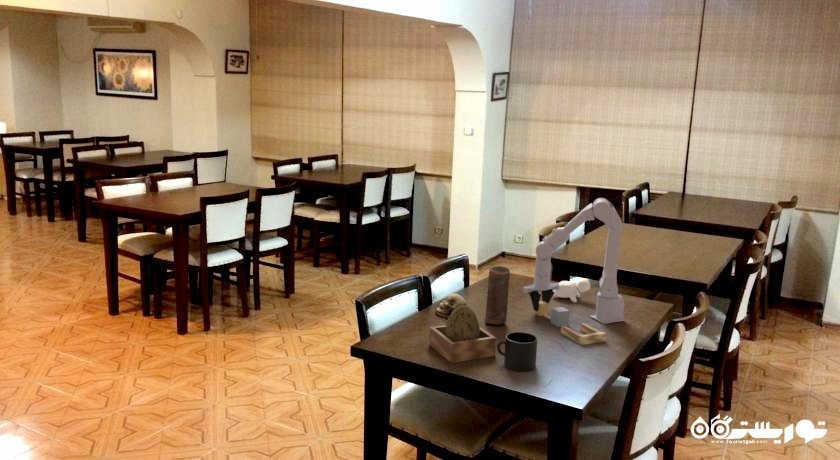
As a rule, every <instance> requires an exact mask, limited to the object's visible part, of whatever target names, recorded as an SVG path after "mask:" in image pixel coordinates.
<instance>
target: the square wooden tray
mask: <svg viewBox="0 0 840 460" xmlns="http://www.w3.org/2000/svg"><path fill="white" fill-rule="evenodd" d="M479 327H480V334H479V338H478V339H472V340H465V341H458V342H452V341H451V340H450V339H449V338H447V337H446V335H445V328H446V324H445V325H437V326H430V327H429V342H428V343H429V344H428V345H429V346H430V347H431V348H432V349H433V350H435V351H436V352H437V353H438V354H439V355H441V356H442V357H443V358H444V357H445V358H444V359H446V360H447V361H448V362H450V364H452V363H458V362H464V361H470V360H476V359H477V360H478V359H485V358H491V357H495V356H496V349H497V346H496V345H497V344H496V343H497V337H496V336H494V335H493V334H491V333H490V332H488V331H487V330H485V328H482V326H479Z"/></svg>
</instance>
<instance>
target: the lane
mask: <svg viewBox="0 0 840 460" xmlns="http://www.w3.org/2000/svg"><path fill="white" fill-rule="evenodd" d="M579 331H580V332H582V333H584V334H581V333H579V332H577V331H575V330H573V329H572V328H570V327H569V326H561V327H560V334H562V335H564V336H565V337H567V338H569V339H570V340H571V341H574V342H576V344H580V345H581V346H584V345H589V344H596V343H597V344H598V343H603V342H606V340H607V339H606V337H607V333H606V332H604V331H600V330H598V329H596V328H594V327H593V326H591V325H589V324H586V323H580V326H579Z"/></svg>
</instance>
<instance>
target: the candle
mask: <svg viewBox="0 0 840 460" xmlns="http://www.w3.org/2000/svg"><path fill="white" fill-rule="evenodd" d="M488 271H489V272H488V281H487V282H488V284H487V297H486V304H485V305H486V307H485V316H484V317H485V319H484V321H485V322H486V324H491V325H495V326H501V325H503V324H504V323H506V322H507V314H508V304H509V303H508V301H509V300H508V299H509V288H510V287H509V286H510V275H511V271H510V269H509V268H508V267H506V266H501V265H498V266H497V265H496V266H495V265H494V266H491V267H490V268H489V270H488Z"/></svg>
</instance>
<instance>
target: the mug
mask: <svg viewBox="0 0 840 460" xmlns="http://www.w3.org/2000/svg"><path fill="white" fill-rule="evenodd" d="M503 344H504V351H502V350H501V345H503ZM496 345H497V346H496V350H497V353H498V354H499V355H502V356H503V359H504V360H503V365H504V366H505V368H507V369H509V370H510V371H515V372H519V373H520V372H523V373H524V372H525V373H526V372H531V371H533V370H534V369H535V368H536V367H537V366H536V365H537V348H538V337H537V336H536V335H534V334H532V333H530V332H529V333H528V332H524V331H523V332H522V331H517V332H516V331H514V332H510V333H507V334H506V335H505V340H502V341H499V342H498V343H497V344H496Z"/></svg>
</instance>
